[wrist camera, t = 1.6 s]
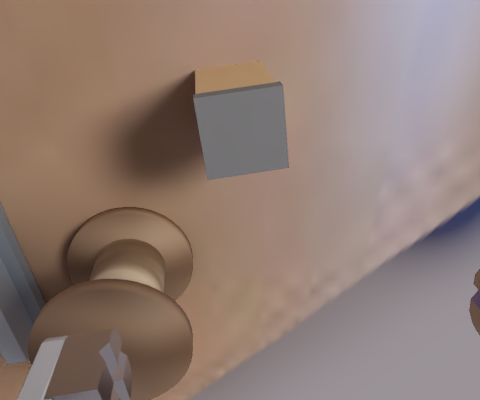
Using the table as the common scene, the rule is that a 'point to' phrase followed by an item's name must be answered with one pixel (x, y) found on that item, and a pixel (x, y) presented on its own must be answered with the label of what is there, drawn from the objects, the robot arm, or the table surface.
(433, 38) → the table surface
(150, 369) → the door knob
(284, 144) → the grey and tan block
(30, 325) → the grey channel bracket
